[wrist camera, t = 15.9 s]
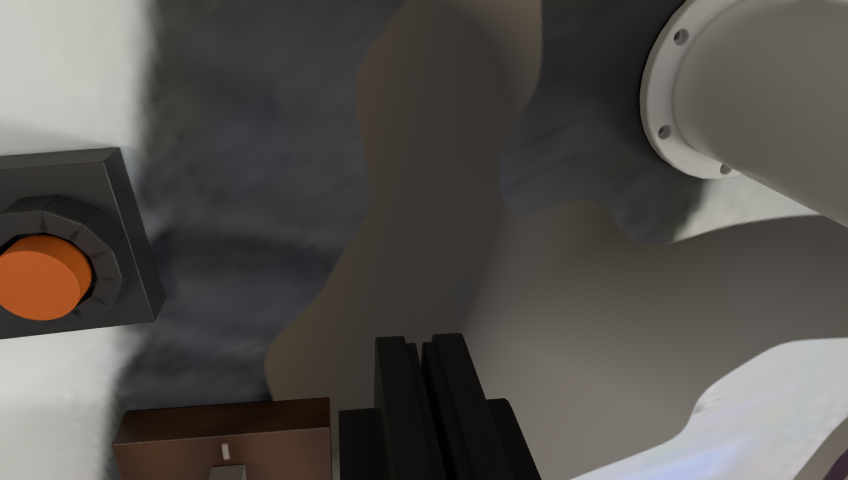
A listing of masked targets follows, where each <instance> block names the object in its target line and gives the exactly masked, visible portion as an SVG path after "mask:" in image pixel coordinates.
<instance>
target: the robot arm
mask: <svg viewBox="0 0 848 480" xmlns="http://www.w3.org/2000/svg"><path fill="white" fill-rule="evenodd" d="M675 34H676V36H675ZM674 36H675V38H674ZM640 115H641V120H642V124H643V128H644V132H645V134H646V136H647V138H648V140H649V142H650V144H651V146H652V147H653V149H654V150H655V151H656V152H657V154H658V155H659V156H660V157H661V158H662V159H663V160H665V161H666V162H667V163H669V164H670V165H671V166H673V167H674V168H676V169H678V170H680V171H682V172H684V173H686V174H688V175H691V176H695V177H698V178H702V179H725V178H732V177H737V176H740V175H743V174H744V175H746V176H748V177H750V178H751V179H753V180H755V181H757V182H759V183H761V184H763V185H765V186H767V187H769V188H771V189H773V190H775V191H777V192H779V193H781V194H783V195H785V196H787V197H789V198H791V199H793V200H795V201H796V202H798V203H800V204H802V205H804V206H806V207H808V208H810V209H812V210H814V211H816V212H818V213H820V214H822V215H824V216H826V217H828V218H830V219H832V220H834V221H836V222H838V223H840V224H841V225H843V226H845V227H847V228H848V0H686V1H685V2H684V3H683V4H682V5H681V6H680V7H679V8H678V10H677V11H676V12H675V13H674V14H673V15H672V16H671V18H670V19H669V21H668V22H667V24H666V25H665V26H664V28H663V29H662V31H661V32H660V34H659V36H658V38H657V40H656V42H655V44H654V46H653V48H652V50H651V52H650V54H649V57H648V60H647V63H646V66H645V69H644V72H643V76H642V83H641V89H640ZM659 129H660V130H659ZM374 390H375V391H374V408H369V409H355V410H341V411H339V451H340V480H541V477H540V475H539V473H538V470H537V468H536V465H535V463H534V461H533V458H532V456H531V454H530V451H529V448H528V446H527V444H526V441H525V439H524V436H523V434H522V432H521V429H520V427H519V424H518V422H517V419H516V417H515V415H514V412H513V410H512V407H511V406H510V404H509V402H508V401H507V400H506V399H505V398H501V399H488V400H486V398H485V396H484V393H483V390H482V387H481V384H480V381H479V379H478V376H477V373H476V370H475V368H474V365H473V362H472V359H471V357H470V354H469V351H468V348H467V346H466V343H465V340H464V337H463V336H462V334H461V333H450V334H434V335H433V336H432V341H431V342H424V343H423V344H422V354H421V365H420V361H419V357H418V352H417V348H416V344H415V343H406V342H405V338H404V336H394V337H376V339H375V386H374Z"/></svg>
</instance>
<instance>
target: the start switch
mask: <svg viewBox="0 0 848 480" xmlns="http://www.w3.org/2000/svg"><path fill="white" fill-rule="evenodd" d="M91 282H92V268H91V265H90V263H89V261H88V259H87V258H86V256H85V255H84V254H83V253H82V252H81V251H80V250H79V249H78V248H77V247H76V246H74V245H73V244H71V243H69V242H67V241H65V240H63V239H60V238H57V237H53V236H47V235H35V236H29V237H25V238H23V239H21V240H19V241H17V242H16V243H14V244H13V245H12V246H11V247H10V248H9V249H8V250H6V251H5V252H4V253H3V254H2V255H1V256H0V305H1V306H3V307H4V308H5V309H7V310H8V311H10V312H12V313H14V314H16V315H18V316H21V317H24V318H27V319H32V320H52V319H56V318H59V317H62V316H64V315H66V314H68V313H69V312H70V311H72V310H73V308H74V307H75V306H76V305H77V303H78V302H79V301H80V299H81V298H82V297H83V295H84V294H85V292H86V291H87V290H88V288H89V287H90V284H91Z"/></svg>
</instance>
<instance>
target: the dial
mask: <svg viewBox="0 0 848 480" xmlns="http://www.w3.org/2000/svg"><path fill="white" fill-rule="evenodd" d="M209 480H247V479H246V471H245V465H232V466H220V467H212V468H211V473H210V477H209Z"/></svg>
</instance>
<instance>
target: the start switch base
mask: <svg viewBox="0 0 848 480" xmlns="http://www.w3.org/2000/svg"><path fill="white" fill-rule="evenodd" d="M35 235H47V236H53V237H57V238H60V239H63V240H65V241H67V242H69V243H71V244H73V245H74V246H76V247H77V248H78V249H79V250H80V251H81V252H82V253H83V254H84V255H85V256H86V258H87V259H88V261H89V263H90V265H91V268H92V282H91V284H90V287H89V288H88V290H87V291H86V292H85V294H84V295H83V297H82V298H81V299H80V301H79V302H78V303H77V305H76V306H75V307H74V308H73V310H72V311H70V312H69V313H68V314H66V315H64V316H62V317H59V318H56V319H52V320H32V319H27V318H24V317H21V316H18V315H16V314H14V313H12V312H10V311H8V310H7V309H5V308H4V307H3V306H1V305H0V339H8V338H17V337H25V336H34V335H43V334H51V333H60V332H69V331H77V330H86V329H95V328H103V327H112V326H121V325H129V324H138V323H147V322H154V321H155V319H156V317H157V315H158V313H159V311H160V309H161V307H162V305H163V303H164V301H165V296H164V293H163V290H162V286H161V283H160V280H159V277H158V273H157V270H156V267H155V263H154V260H153V257H152V253H151V250H150V247H149V244H148V240H147V237H146V234H145V230H144V227H143V224H142V220H141V217H140V214H139V211H138V207H137V204H136V201H135V197H134V194H133V191H132V187H131V184H130V181H129V178H128V174H127V171H126V168H125V164H124V161H123V158H122V154H121V151H120V148H118V147H117V148H104V149H91V150H78V151H65V152H52V153H39V154H26V155H13V156H0V256H1V255H2V254H3V253H4V252H5V251H6V250H8V249H9V248H10V247H11V246H12V245H13V244H14V243H16V242H17V241H19V240H21V239H23V238H25V237H29V236H35Z"/></svg>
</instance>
